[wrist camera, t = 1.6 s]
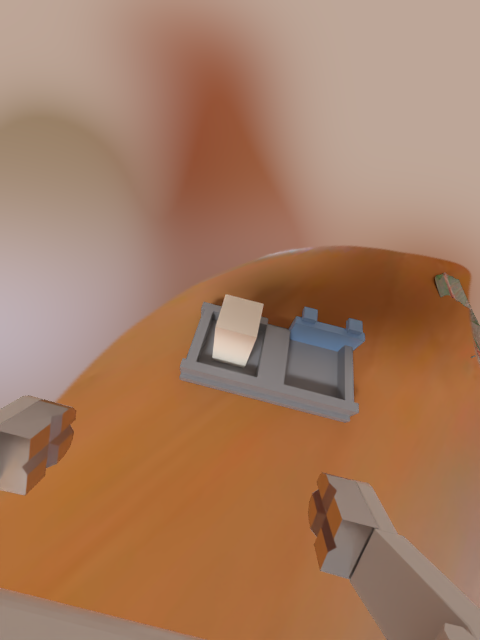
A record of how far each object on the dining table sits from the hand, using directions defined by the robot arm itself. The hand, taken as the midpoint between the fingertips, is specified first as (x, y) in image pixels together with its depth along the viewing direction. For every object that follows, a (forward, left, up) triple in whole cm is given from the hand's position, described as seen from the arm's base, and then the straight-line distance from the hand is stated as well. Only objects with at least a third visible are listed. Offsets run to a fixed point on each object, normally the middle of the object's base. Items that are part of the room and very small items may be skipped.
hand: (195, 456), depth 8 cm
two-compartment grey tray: (-5, -13, -20) cm, 25 cm away
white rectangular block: (0, -13, -19) cm, 23 cm away
